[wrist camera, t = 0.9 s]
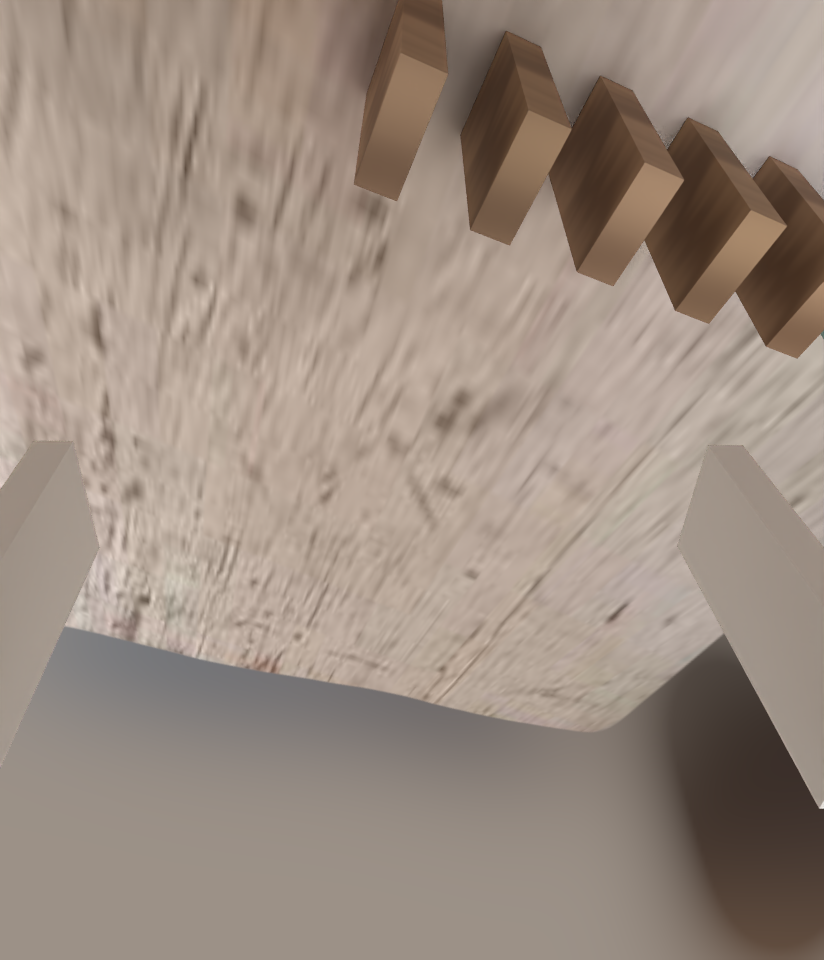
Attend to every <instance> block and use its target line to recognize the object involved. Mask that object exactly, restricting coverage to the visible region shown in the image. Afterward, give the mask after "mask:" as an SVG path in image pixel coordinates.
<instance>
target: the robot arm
mask: <svg viewBox="0 0 824 960" xmlns="http://www.w3.org/2000/svg"><path fill="white" fill-rule="evenodd" d="M677 547H678V548H679V550H680V552H681V554H682V556H683V558H684V560H685V561H686V563H687V565H688V567H689V569H690V571H691V572H692V574H693V576H694V578H695V580H696V582H697V584H698V585H699V587H700V589H701V591H702V593H703V595H704V597H705V598H706V600H707V602H708V604H709V606H710V608H711V609H712V611H713V613H714V615H715V617H716V619H717V621H718V622H719V624H720V626H721V628H722V630H723V632H724V633H725V635H726V637H727V639H728V641H729V643H730V645H731V646H732V648H733V650H734V652H735V654H736V656H737V657H738V659H739V661H740V663H741V665H742V667H743V669H744V670H745V672H746V674H747V676H748V678H749V679H750V681H751V683H752V685H753V687H754V689H755V691H756V693H757V694H758V696H759V698H760V700H761V702H762V703H763V706H764V707H765V709H766V711H767V713H768V715H769V717H770V718H771V720H772V722H773V724H774V726H775V728H776V729H777V731H778V733H779V735H780V736H781V739H782V741H783V742H784V744H785V746H786V748H787V750H788V752H789V754H790V755H791V757H792V759H793V761H794V763H795V765H796V766H797V768H798V770H799V772H800V774H801V775H802V777H803V779H804V781H805V783H806V785H807V787H808V789H809V790H810V792H811V794H812V796H813V798H814V800H815V802H816V803H817V805H818V807H819V808H824V547H823V546H822V545H821V543H820V542H819V541H818V540H817V538H816V537H815V536H814V535H813V533H812V532H811V531H810V530H809V528H808V527H807V526H806V525H805V523H804V522H803V521H802V519H801V518H800V517H799V516H798V514H797V513H796V512H795V511H794V509H793V508H792V507H791V506H790V504H789V503H788V502H787V500H786V499H785V498H784V497H783V495H782V494H781V493H780V492H779V490H778V489H777V488H776V487H775V485H774V484H773V483H772V482H771V480H770V479H769V478H768V476H767V475H766V474H765V473H764V471H763V470H762V469H761V468H760V466H759V465H758V464H757V463H756V461H755V460H754V459H753V457H752V456H751V455H750V454H749V452H748V451H747V450H746V449H745V447H744V446H743V445H708V447H707V450H706V453H705V456H704V460H703V463H702V466H701V469H700V473H699V476H698V479H697V482H696V486H695V489H694V492H693V495H692V499H691V502H690V505H689V509H688V512H687V515H686V518H685V522H684V525H683V528H682V531H681V535H680V538H679V541H678V544H677ZM99 548H100V547H99V543H98V539H97V535H96V531H95V527H94V523H93V519H92V515H91V511H90V507H89V502H88V498H87V494H86V490H85V486H84V482H83V478H82V474H81V470H80V466H79V462H78V458H77V454H76V450H75V446H74V442H73V441H33V443H32V444H31V446H30V447H29V449H28V450H27V452H26V453H25V454H24V456H23V457H22V459H21V460H20V462H19V463H18V465H17V466H16V467H15V469H14V470H13V472H12V473H11V475H10V476H9V478H8V479H7V481H6V482H5V483H4V485H3V486H2V488H1V489H0V768H1V766H2V763H3V761H4V759H5V757H6V755H7V752H8V750H9V748H10V745H11V743H12V741H13V739H14V737H15V735H16V732H17V730H18V728H19V726H20V723H21V721H22V719H23V717H24V715H25V712H26V710H27V708H28V706H29V703H30V701H31V699H32V697H33V695H34V692H35V690H36V688H37V686H38V683H39V681H40V679H41V677H42V675H43V672H44V670H45V668H46V665H47V663H48V661H49V659H50V657H51V654H52V652H53V650H54V648H55V646H56V643H57V641H58V639H59V637H60V634H61V632H62V630H63V628H64V626H65V623H66V621H67V619H68V617H69V614H70V612H71V610H72V608H73V606H74V603H75V601H76V599H77V597H78V594H79V592H80V590H81V588H82V586H83V583H84V581H85V579H86V577H87V574H88V572H89V570H90V568H91V566H92V563H93V561H94V559H95V557H96V554H97V552H98V550H99Z"/></svg>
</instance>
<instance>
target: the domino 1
mask: <svg viewBox="0 0 824 960" xmlns="http://www.w3.org/2000/svg"><path fill="white" fill-rule="evenodd" d="M447 76H448V66H447V54H446V42H445V30H444V18H443V6H442V0H398V3H397V6H396V9H395V12H394V15H393V18H392V21H391V24H390V27H389V30H388V32H387V35H386V38H385V41H384V44H383V47H382V50H381V53H380V56H379V59H378V62H377V65H376V68H375V71H374V74H373V77H372V80H371V83H370V86H369V89H368V92H367V95H366V101H365V108H364V116H363V123H362V130H361V137H360V144H359V151H358V158H357V165H356V173H355V180H354V185H357V186H359V187H362V188H364V189H367V190H369V191H372V192H374V193H377V194H380V195H382V196H385V197H387V198H390V199H392V200H395V201H397V200H398V197H399V195H400V192H401V190H402V187H403V185H404V182H405V180H406V178H407V175H408V173H409V170H410V168H411V165H412V163H413V160H414V158H415V155H416V153H417V150H418V148H419V145H420V143H421V140H422V138H423V135H424V133H425V130H426V128H427V125H428V123H429V120H430V118H431V115H432V113H433V111H434V108H435V106H436V103H437V101H438V98H439V96H440V93H441V91H442V88H443V86H444V83H445V81H446V78H447Z"/></svg>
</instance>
